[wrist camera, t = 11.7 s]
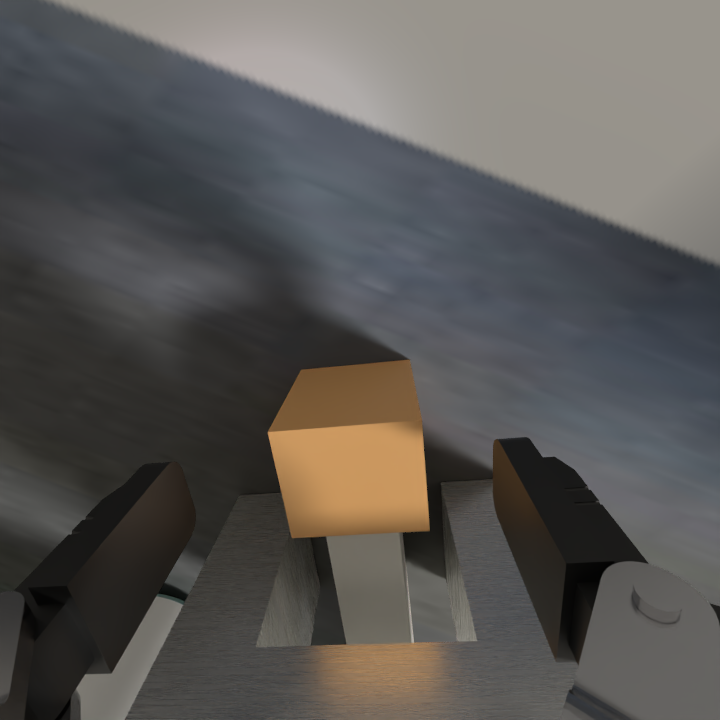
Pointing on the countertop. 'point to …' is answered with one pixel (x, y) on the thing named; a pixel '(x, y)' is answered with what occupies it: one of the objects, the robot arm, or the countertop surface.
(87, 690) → the can
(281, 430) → the plug
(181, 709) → the cylinder
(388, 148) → the countertop surface
